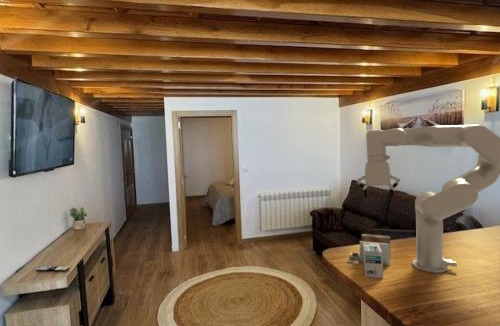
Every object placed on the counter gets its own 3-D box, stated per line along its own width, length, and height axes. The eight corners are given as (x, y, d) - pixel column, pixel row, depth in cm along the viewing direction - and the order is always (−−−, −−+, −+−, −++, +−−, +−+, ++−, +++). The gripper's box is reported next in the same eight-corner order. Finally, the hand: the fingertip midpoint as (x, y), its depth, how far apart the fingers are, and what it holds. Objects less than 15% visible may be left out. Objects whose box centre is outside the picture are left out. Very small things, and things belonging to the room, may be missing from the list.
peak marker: (358, 254, 140) (358, 253, 140) (357, 255, 139) (357, 253, 139) (352, 254, 142) (352, 252, 141) (352, 254, 141) (352, 253, 141)
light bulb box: (383, 278, 118) (383, 251, 117) (365, 277, 120) (364, 251, 119) (379, 267, 128) (379, 242, 127) (363, 266, 130) (362, 241, 129)
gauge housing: (390, 257, 138) (390, 236, 137) (389, 268, 127) (389, 245, 126) (351, 253, 145) (351, 232, 144) (347, 262, 134) (347, 240, 134)
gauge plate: (389, 264, 130) (389, 243, 129) (389, 265, 129) (389, 244, 128) (349, 259, 137) (349, 239, 137) (349, 260, 136) (349, 240, 136)
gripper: (398, 157, 130) (400, 196, 131) (355, 159, 136) (357, 196, 137) (399, 158, 123) (401, 200, 124) (355, 160, 129) (357, 200, 130)
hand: (378, 198), depth 131 cm, fingers open, 9 cm apart
